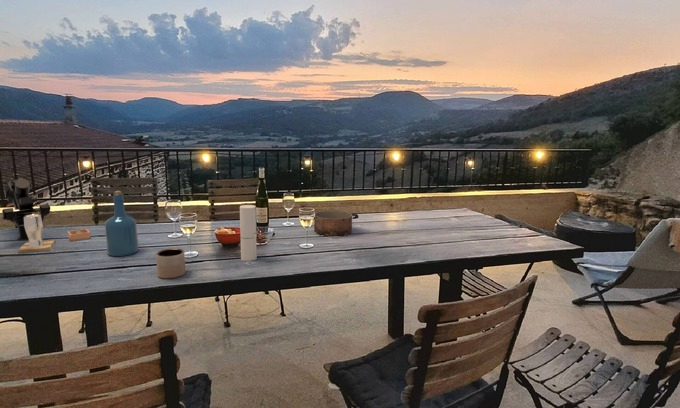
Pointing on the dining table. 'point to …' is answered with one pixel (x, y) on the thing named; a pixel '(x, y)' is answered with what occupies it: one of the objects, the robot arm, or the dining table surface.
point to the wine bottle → (121, 230)
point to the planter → (170, 263)
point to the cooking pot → (333, 223)
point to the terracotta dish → (79, 235)
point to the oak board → (45, 247)
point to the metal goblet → (34, 229)
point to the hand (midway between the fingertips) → (31, 225)
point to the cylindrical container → (248, 232)
